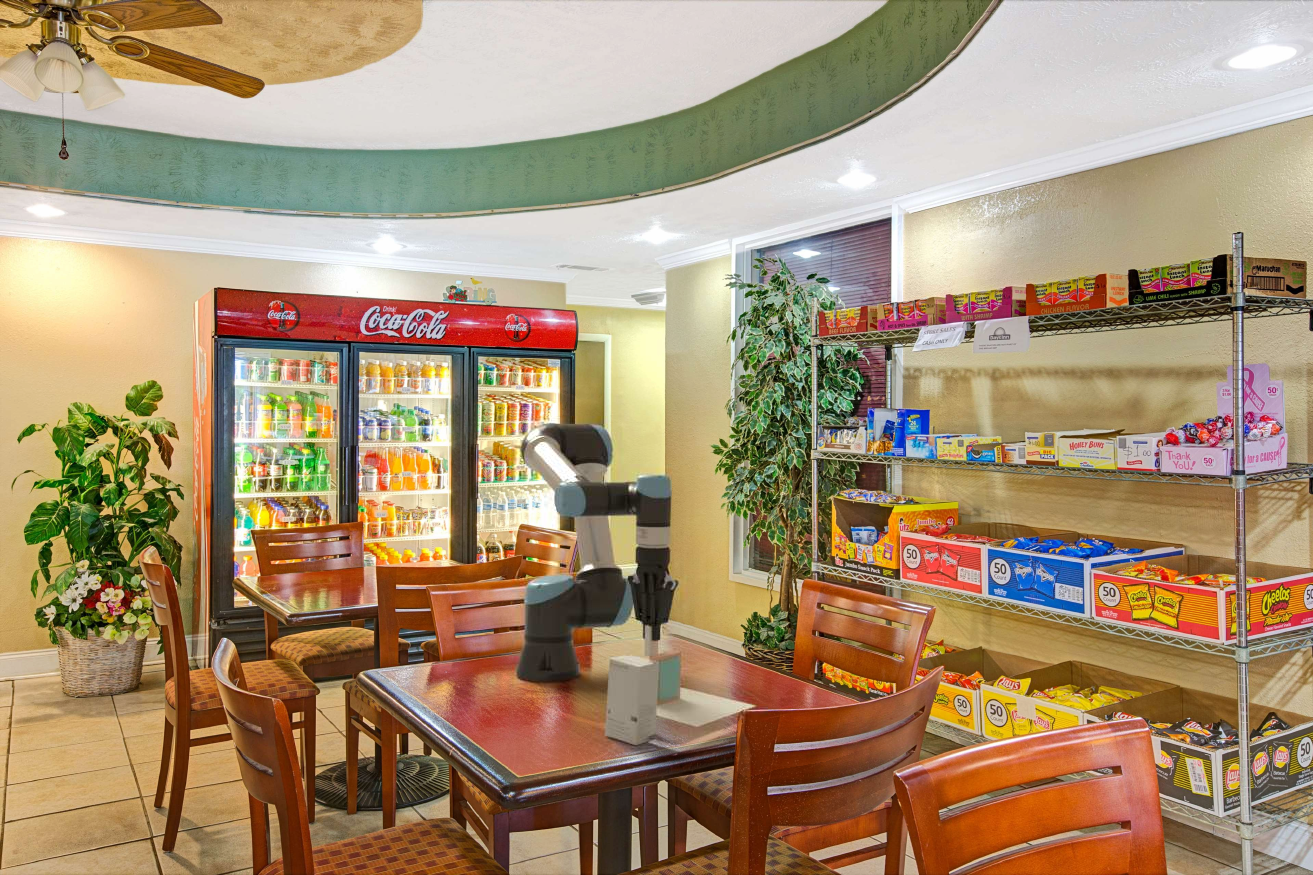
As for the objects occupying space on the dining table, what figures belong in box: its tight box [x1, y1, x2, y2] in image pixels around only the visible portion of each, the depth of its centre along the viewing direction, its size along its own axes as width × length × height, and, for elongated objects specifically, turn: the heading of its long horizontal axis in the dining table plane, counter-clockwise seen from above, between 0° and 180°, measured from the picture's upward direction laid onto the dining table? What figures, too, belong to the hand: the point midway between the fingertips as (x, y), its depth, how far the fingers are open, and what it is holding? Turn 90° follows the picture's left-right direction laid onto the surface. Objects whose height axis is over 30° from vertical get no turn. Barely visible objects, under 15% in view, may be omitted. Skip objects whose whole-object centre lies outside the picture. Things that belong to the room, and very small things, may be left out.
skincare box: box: [604, 654, 659, 746], centre depth 169 cm, size 8×6×15 cm
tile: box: [649, 649, 682, 705], centre depth 190 cm, size 2×8×10 cm, turn 139°
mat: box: [656, 686, 756, 728], centre depth 188 cm, size 24×20×1 cm
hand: (651, 654), depth 193 cm, fingers closed
